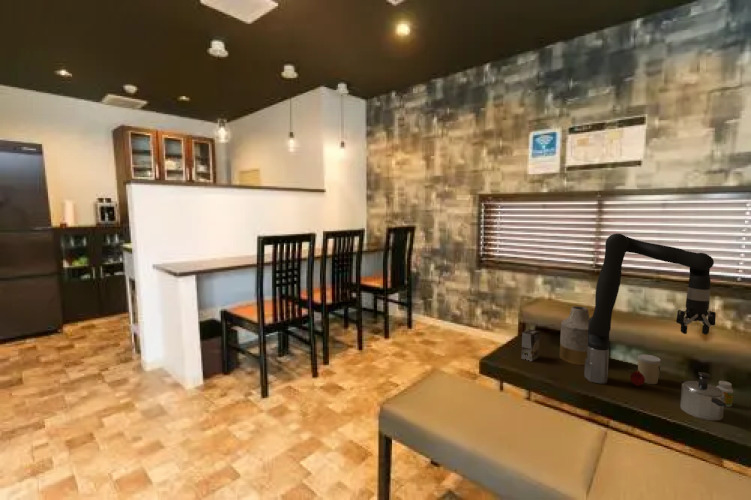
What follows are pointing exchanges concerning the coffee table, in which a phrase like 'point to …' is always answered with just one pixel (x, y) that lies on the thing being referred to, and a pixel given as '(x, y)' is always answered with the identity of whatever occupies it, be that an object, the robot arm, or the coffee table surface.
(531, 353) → the coffee box
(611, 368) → the coffee table surface
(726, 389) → the supplement bottle
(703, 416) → the pot
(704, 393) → the lid
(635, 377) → the onion
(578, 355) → the vase
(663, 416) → the coffee table surface
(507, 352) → the coffee table surface
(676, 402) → the coffee table surface
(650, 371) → the coffee cup
